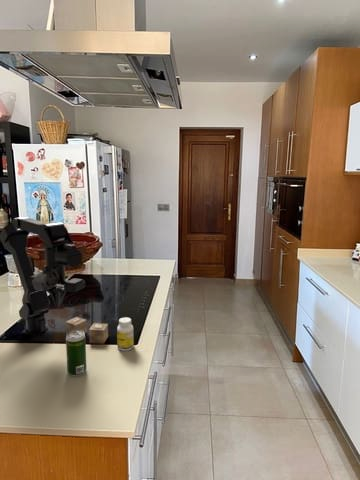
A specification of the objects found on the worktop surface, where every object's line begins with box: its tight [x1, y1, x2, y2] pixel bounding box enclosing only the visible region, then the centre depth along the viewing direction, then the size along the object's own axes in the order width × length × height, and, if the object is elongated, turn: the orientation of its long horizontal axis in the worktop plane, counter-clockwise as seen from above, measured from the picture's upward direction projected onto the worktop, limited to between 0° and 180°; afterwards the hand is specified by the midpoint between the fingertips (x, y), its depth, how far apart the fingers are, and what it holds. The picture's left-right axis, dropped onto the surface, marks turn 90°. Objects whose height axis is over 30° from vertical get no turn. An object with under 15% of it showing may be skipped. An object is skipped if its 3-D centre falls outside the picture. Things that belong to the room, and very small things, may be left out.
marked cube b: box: [65, 316, 88, 334], centre depth 122 cm, size 5×5×5 cm
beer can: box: [65, 330, 88, 378], centre depth 98 cm, size 5×5×12 cm
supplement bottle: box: [116, 316, 135, 351], centre depth 112 cm, size 5×5×10 cm
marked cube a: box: [88, 322, 109, 345], centre depth 117 cm, size 5×5×5 cm
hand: (57, 307), depth 113 cm, fingers closed
